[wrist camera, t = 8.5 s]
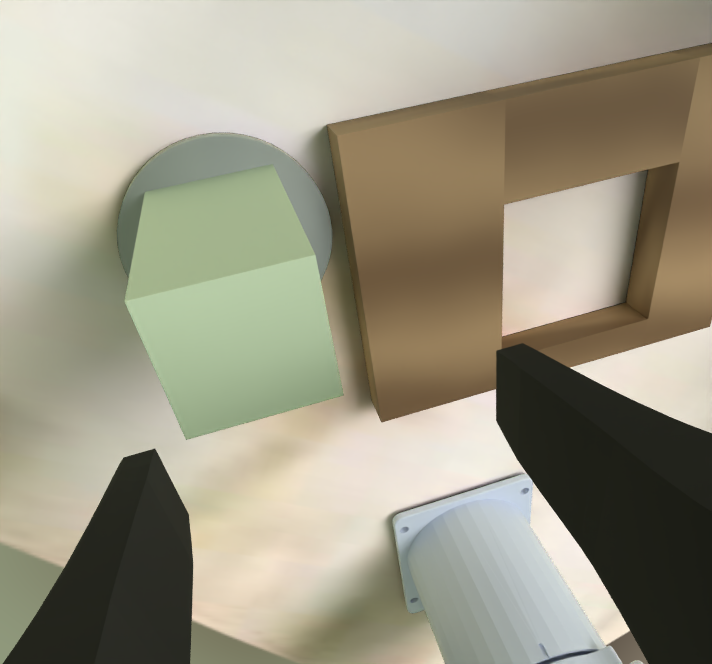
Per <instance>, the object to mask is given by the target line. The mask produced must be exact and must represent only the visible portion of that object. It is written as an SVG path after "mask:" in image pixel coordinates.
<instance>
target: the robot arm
mask: <svg viewBox="0 0 712 664" xmlns="http://www.w3.org/2000/svg"><path fill="white" fill-rule="evenodd" d="M496 421H497V423H498V425H499V427H500V429H501V430H502V432H503V434H504V436H505V438H506V440H507V442H508V444H509V445H510V447H511V449H512V451H513V453H514V454H515V456H516V458H517V460H518V461H519V463H520V464H521V466H522V467H523V468H524V470H525V471H526V473H527V474H522V475H518V476H515V477H512V478H509V479H506V480H503V481H499V482H496V483H493V484H490V485H487V486H484V487H481V488H477V489H474V490H471V491H468V492H465V493H462V494H458V495H455V496H452V497H449V498H446V499H443V500H439V501H436V502H433V503H430V504H427V505H424V506H420V507H417V508H414V509H411V510H408V511H405V512H401V513H399V514H397V515H396V516H395V517H394V518H393V521H392V522H393V529H394V535H395V541H396V547H397V553H398V560H399V566H400V572H401V578H402V584H403V590H404V597H405V603H406V607H407V610H408V612H409V613H417V612H420V611H422V610H425V612H426V615H427V618H428V620H429V623H430V625H431V628H432V631H433V633H434V636H435V639H436V641H437V644H438V647H439V649H440V652H441V655H442V657H443V660H444V662H445V664H623V663H622V662H621V660H620V659H619V657H618V656H617V654H616V653H615V651H614V649H613V648H612V647H611V646H607V647H606V645H605V644H604V642H603V641H602V639H601V637H600V636H599V634H598V633H597V631H596V629H595V628H594V626H593V625H592V623H591V622H590V620H589V618H588V617H587V615H586V614H585V612H584V610H583V609H582V607H581V606H580V604H579V602H578V601H577V599H576V598H575V596H574V595H573V593H572V591H571V590H570V588H569V587H568V585H567V583H566V582H565V580H564V579H563V577H562V575H561V574H560V572H559V571H558V569H557V568H556V566H555V564H554V563H553V561H552V560H551V558H550V556H549V555H548V553H547V552H546V550H545V548H544V547H543V545H542V544H541V542H540V541H539V539H538V537H537V536H536V534H535V533H534V531H533V529H532V528H531V526H530V517H531V503H532V489H533V482H534V484H535V485H536V487H537V488H538V489H539V491H540V492H541V494H542V495H543V496H544V498H545V499H546V500H547V502H548V503H549V505H550V506H551V507H552V509H553V510H554V511H555V513H556V514H557V516H558V517H559V518H560V520H561V521H562V522H563V524H564V525H565V527H566V528H567V529H568V531H569V532H570V533H571V535H572V536H573V538H574V539H575V540H576V542H577V543H578V544H579V546H580V547H581V549H582V550H583V552H584V553H585V555H586V556H587V558H588V559H589V561H590V562H591V564H592V565H593V567H594V569H595V570H596V572H597V574H598V575H599V577H600V579H601V581H602V582H603V584H604V586H605V587H606V589H607V591H608V592H609V594H610V596H611V598H612V599H613V601H614V603H615V604H616V606H617V608H618V609H619V611H620V613H621V615H622V617H623V618H624V620H625V622H626V624H627V626H628V627H629V629H630V631H631V633H632V634H633V636H634V638H635V640H636V642H637V643H638V645H639V646H640V649H641V651H642V652H643V654H644V656H645V658H646V660H647V661H648V663H649V664H712V433H709V432H707V431H704V430H701V429H699V428H696V427H693V426H691V425H688V424H686V423H683V422H681V421H678V420H676V419H674V418H671V417H669V416H667V415H664V414H662V413H660V412H658V411H655V410H653V409H651V408H649V407H647V406H644V405H642V404H640V403H638V402H636V401H634V400H631V399H629V398H627V397H625V396H623V395H621V394H619V393H617V392H615V391H613V390H611V389H609V388H607V387H605V386H603V385H601V384H599V383H597V382H595V381H593V380H591V379H590V378H588V377H586V376H584V375H582V374H580V373H578V372H576V371H574V370H573V369H571V368H569V367H567V366H565V365H563V364H561V363H560V362H558V361H556V360H554V359H552V358H550V357H549V356H547V355H545V354H543V353H541V352H539V351H537V350H535V349H534V348H532V347H530V346H528V345H526V344H524V343H521V344H518V345H514V346H511V347H507V348H504V349H500V350H497V351H496ZM192 589H193V555H192V543H191V533H190V523H189V514H188V512H187V510H186V508H185V506H184V504H183V502H182V500H181V499H180V497H179V495H178V493H177V491H176V489H175V487H174V485H173V483H172V481H171V479H170V477H169V475H168V473H167V471H166V469H165V467H164V465H163V463H162V461H161V459H160V457H159V455H158V453H157V452H156V450H155V449H152V450H148V451H145V452H141V453H138V454H135V455H131V456H128V457H124V458H123V459H122V461H121V463H120V464H119V466H118V468H117V470H116V472H115V474H114V476H113V478H112V480H111V482H110V484H109V486H108V488H107V490H106V492H105V494H104V496H103V498H102V500H101V501H100V503H99V505H98V507H97V509H96V511H95V513H94V515H93V517H92V519H91V521H90V523H89V524H88V526H87V528H86V530H85V532H84V534H83V535H82V537H81V539H80V541H79V543H78V544H77V546H76V548H75V550H74V552H73V554H72V555H71V557H70V559H69V561H68V562H67V564H66V566H65V568H64V569H63V571H62V573H61V575H60V576H59V578H58V579H57V581H56V583H55V584H54V586H53V587H52V589H51V591H50V593H49V594H48V596H47V597H46V599H45V601H44V602H43V604H42V606H41V607H40V609H39V611H38V612H37V614H36V615H35V617H34V618H33V620H32V621H31V623H30V625H29V626H28V628H27V629H26V631H25V632H24V634H23V635H22V637H21V638H20V640H19V641H18V643H17V644H16V645H15V647H14V648H13V650H12V651H11V653H10V654H9V656H8V657H7V658H6V660H5V661H4V663H3V664H190V649H191V621H192ZM630 664H643V663H642V662H641V661H639V660H635V661H633V662H632V663H630Z"/></svg>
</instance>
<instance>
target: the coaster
mask: <svg viewBox="0 0 712 664" xmlns="http://www.w3.org/2000/svg"><path fill="white" fill-rule="evenodd" d="M270 164H273V166H274V168H275V170H276V172H277V174H278V176H279V179H280V181H281V183H282V185H283V187H284V189H285V191H286V193H287V196H288V198H289V200H290V202H291V204H292V206H293V208H294V210H295V213H296V215H297V217H298V219H299V221H300V223H301V225H302V227H303V230H304V232H305V234H306V236H307V238H308V240H309V242H310V244H311V247H312V249H313V251H314V253H315V255H316V260H317V265H318V270H319V275H320V280H322V277H323V275H324V273H325V271H326V269H327V265H328V262H329V259H330V254H331V248H332V226H331V219H330V215H329V211H328V208H327V205H326V203H325V200H324V198H323V196H322V194H321V192H320V191H319V189H318V187H317V185H316V184H315V182H314V181H313V179H312V178H311V177H310V175H309V174H308V173H307V171H306V170H305V169H304V168H303V167H302V166H301V165H300V164H299V163H298V162H297V161H296V160H295V159H294V158H292V157H291V156H290V155H289V154H287V153H286V152H285V151H283V150H281V149H280V148H278V147H276V146H274V145H273V144H270V143H268V142H266V141H263V140H261V139H258V138H255V137H251V136H247V135H243V134H235V133H208V134H201V135H196V136H193V137H189V138H186V139H183V140H181V141H178V142H176V143H174V144H171V145H169V146H168V147H166V148H165V149H163V150H161V151H160V152H158V153H157V154H156V155H155V156H153V157H152V158H151V159H150V160H149V161H147V162H146V163H145V165H144V166H143V167H142V168H141V169H140V170H139V171H138V172H137V174H136V175H135V177H134V179H133V180H132V182H131V183H130V185H129V187H128V189H127V192H126V194H125V196H124V199H123V203H122V206H121V210H120V214H119V218H118V226H117V243H118V249H119V254H120V259H121V261H122V264H123V267H124V270H125V272H126V274H127V276H128V278H129V274H130V269H131V263H132V258H133V253H134V248H135V242H136V237H137V232H138V226H139V221H140V216H141V210H142V205H143V200H144V194H145V192H147V191H152V190H156V189H161V188H165V187H170V186H174V185H179V184H184V183H188V182H193V181H197V180H202V179H206V178H211V177H215V176H220V175H225V174H229V173H234V172H238V171H243V170H247V169H252V168H256V167H261V166H266V165H270Z"/></svg>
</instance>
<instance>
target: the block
mask: <svg viewBox="0 0 712 664" xmlns="http://www.w3.org/2000/svg"><path fill="white" fill-rule="evenodd" d="M124 302H125V304H126V306H127V309H128V311H129V313H130V315H131V317H132V320H133V322H134V324H135V326H136V329H137V331H138V333H139V335H140V338H141V340H142V342H143V344H144V347H145V349H146V351H147V353H148V355H149V358H150V360H151V362H152V364H153V367H154V369H155V371H156V373H157V376H158V378H159V380H160V382H161V385H162V387H163V389H164V391H165V393H166V396H167V398H168V400H169V402H170V405H171V407H172V409H173V411H174V414H175V416H176V418H177V420H178V423H179V425H180V427H181V429H182V432H183V434H184V436H185V438H186V440H187V439H191V438H194V437H198V436H201V435H205V434H209V433H212V432H216V431H219V430H223V429H226V428H230V427H233V426H237V425H240V424H244V423H248V422H251V421H255V420H258V419H262V418H265V417H269V416H272V415H276V414H279V413H283V412H287V411H290V410H294V409H297V408H301V407H304V406H308V405H311V404H315V403H318V402H322V401H326V400H329V399H333V398H336V397H340V396H343V395H344V394H343V389H342V385H341V380H340V375H339V370H338V365H337V360H336V355H335V350H334V345H333V340H332V335H331V330H330V325H329V320H328V315H327V310H326V305H325V300H324V295H323V290H322V285H321V280H320V275H319V270H318V265H317V260H316V255H315V253H314V251H313V249H312V247H311V244H310V242H309V240H308V238H307V236H306V234H305V232H304V230H303V227H302V225H301V223H300V221H299V219H298V217H297V215H296V213H295V210H294V208H293V206H292V204H291V202H290V200H289V198H288V196H287V193H286V191H285V189H284V187H283V185H282V183H281V181H280V179H279V176H278V174H277V172H276V170H275V168H274V166H273V164H270V165H266V166H261V167H256V168H252V169H247V170H243V171H238V172H234V173H229V174H225V175H220V176H215V177H211V178H206V179H202V180H197V181H193V182H188V183H184V184H179V185H174V186H170V187H165V188H161V189H156V190H152V191H147V192H145V194H144V200H143V205H142V210H141V216H140V221H139V226H138V232H137V237H136V242H135V248H134V253H133V258H132V263H131V269H130V274H129V279H128V285H127V290H126V295H125V301H124Z"/></svg>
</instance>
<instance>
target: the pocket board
mask: <svg viewBox="0 0 712 664" xmlns="http://www.w3.org/2000/svg"><path fill="white" fill-rule="evenodd" d="M327 130H328V136H329V142H330V148H331V154H332V160H333V167H334V173H335V179H336V185H337V191H338V197H339V203H340V209H341V216H342V222H343V228H344V234H345V240H346V246H347V252H348V258H349V264H350V271H351V277H352V283H353V289H354V295H355V301H356V307H357V313H358V320H359V326H360V332H361V338H362V344H363V350H364V356H365V362H366V368H367V375H368V381H369V387H370V393H371V399H372V402H373V404H374V407H375V409H376V411H377V413H378V416H379V418H380V420H381V422H385V421H388V420H391V419H395V418H398V417H402V416H405V415H409V414H412V413H415V412H419V411H422V410H426V409H429V408H433V407H436V406H439V405H443V404H446V403H450V402H453V401H457V400H460V399H463V398H467V397H470V396H474V395H477V394H481V393H484V392H487V391H491V390H494V389H496V351H497V350H500V349H504V348H507V347H511V346H514V345H518V344H521V343H524V344H526V345H528V346H530V347H532V348H534V349H535V350H537V351H539V352H541V353H543V354H545V355H547V356H549V357H550V358H552V359H554V360H556V361H558V362H560V363H561V364H563V365H565V366H567V367H569V368H570V367H573V366H577V365H580V364H583V363H587V362H590V361H594V360H597V359H601V358H604V357H607V356H611V355H614V354H618V353H621V352H625V351H628V350H631V349H635V348H638V347H642V346H645V345H649V344H652V343H655V342H659V341H662V340H666V339H669V338H673V337H676V336H679V335H683V334H686V333H690V332H693V331H697V330H700V329H703V328H707V327H710V324H711V320H712V43H710V44H705V45H700V46H695V47H691V48H686V49H681V50H677V51H672V52H667V53H662V54H658V55H653V56H648V57H644V58H639V59H634V60H630V61H625V62H620V63H615V64H611V65H606V66H601V67H597V68H592V69H587V70H582V71H578V72H573V73H568V74H564V75H559V76H554V77H550V78H545V79H540V80H535V81H531V82H526V83H521V84H517V85H512V86H507V87H503V88H498V89H493V90H488V91H484V92H479V93H474V94H470V95H465V96H460V97H455V98H451V99H446V100H441V101H437V102H432V103H427V104H423V105H418V106H413V107H408V108H404V109H399V110H394V111H390V112H385V113H380V114H375V115H371V116H366V117H361V118H357V119H352V120H347V121H343V122H338V123H333V124H328V125H327ZM644 170H648V174H647V180H646V186H645V192H644V198H643V204H642V210H641V216H640V221H639V227H638V233H637V239H636V245H635V251H634V257H633V263H632V269H631V275H630V281H629V287H628V293H627V299H626V303H623V304H619V305H615V306H612V307H608V308H605V309H601V310H597V311H594V312H590V313H587V314H583V315H580V316H576V317H572V318H569V319H565V320H562V321H558V322H554V323H551V324H547V325H544V326H540V327H536V328H533V329H529V330H526V331H522V332H518V333H515V334H511V335H508V336H504V337H502V290H503V230H504V204H508V203H512V202H517V201H521V200H525V199H529V198H533V197H537V196H541V195H545V194H549V193H553V192H558V191H562V190H566V189H570V188H574V187H578V186H582V185H586V184H590V183H595V182H599V181H603V180H607V179H611V178H615V177H619V176H623V175H627V174H631V173H636V172H640V171H644Z"/></svg>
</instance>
